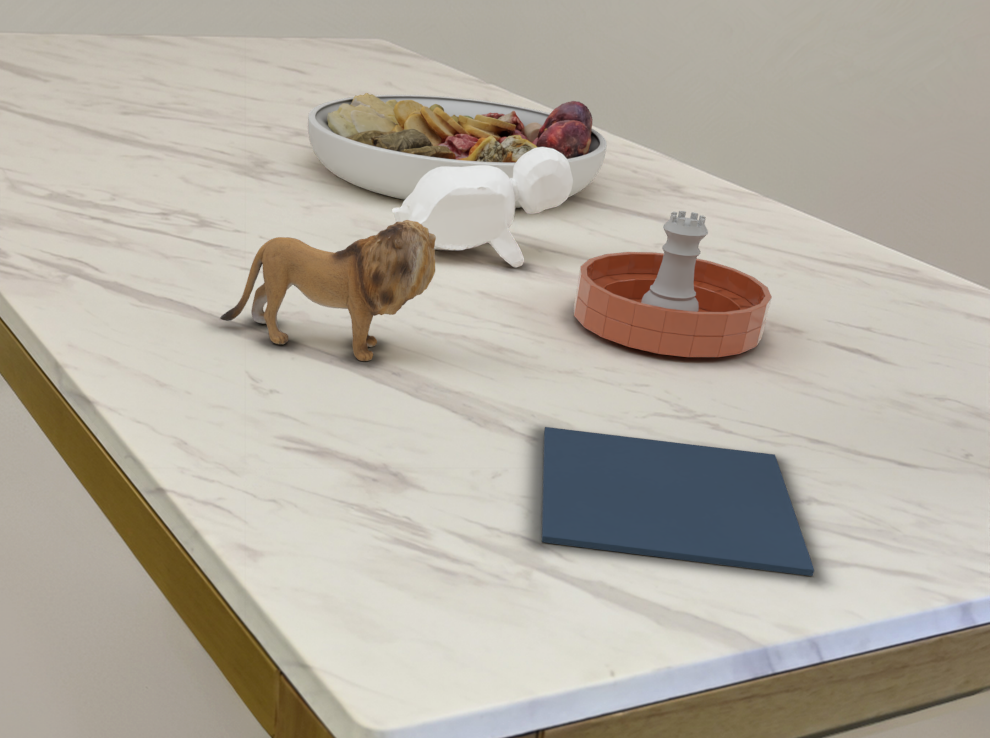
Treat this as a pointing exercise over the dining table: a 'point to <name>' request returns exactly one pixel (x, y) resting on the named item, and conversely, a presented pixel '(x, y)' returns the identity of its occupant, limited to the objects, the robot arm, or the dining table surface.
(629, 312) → the terracotta bowl
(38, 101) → the dining table surface
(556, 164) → the white animal figurine
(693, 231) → the rook chess piece
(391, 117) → the bowl
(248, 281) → the lion figurine
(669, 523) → the dark blue square mat
